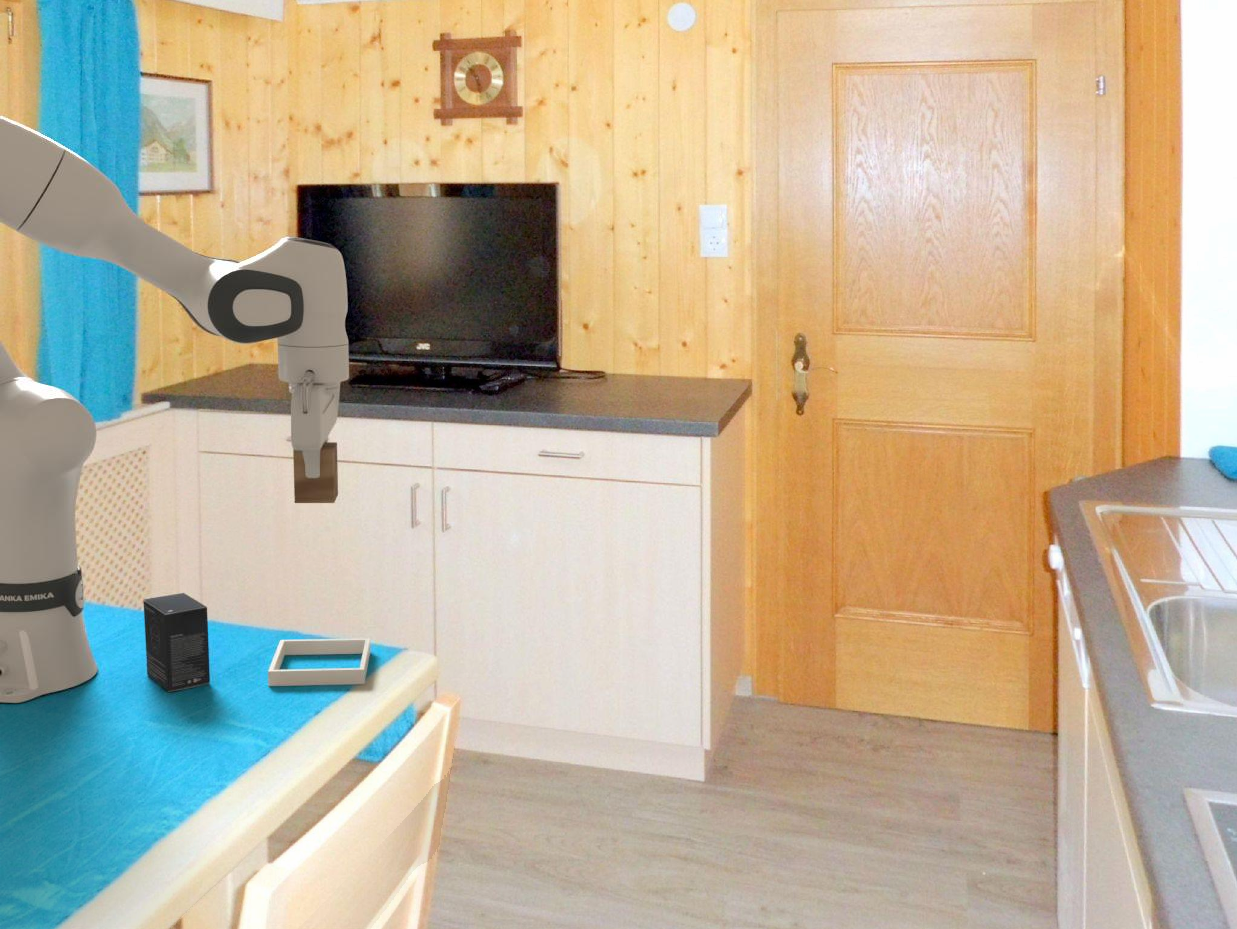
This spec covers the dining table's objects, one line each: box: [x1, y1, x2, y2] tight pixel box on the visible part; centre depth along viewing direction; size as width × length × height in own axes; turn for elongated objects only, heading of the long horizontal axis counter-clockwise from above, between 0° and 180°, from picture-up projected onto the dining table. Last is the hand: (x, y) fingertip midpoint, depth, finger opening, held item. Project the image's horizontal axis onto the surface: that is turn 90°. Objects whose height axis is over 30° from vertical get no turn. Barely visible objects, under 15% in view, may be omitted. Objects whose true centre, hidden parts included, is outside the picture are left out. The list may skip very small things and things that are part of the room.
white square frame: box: [267, 637, 371, 687], centre depth 179 cm, size 12×12×2 cm
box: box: [143, 592, 211, 693], centre depth 173 cm, size 8×6×11 cm
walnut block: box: [292, 441, 339, 504], centre depth 174 cm, size 5×5×7 cm
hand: (316, 471), depth 174 cm, fingers closed on walnut block, 5 cm apart
